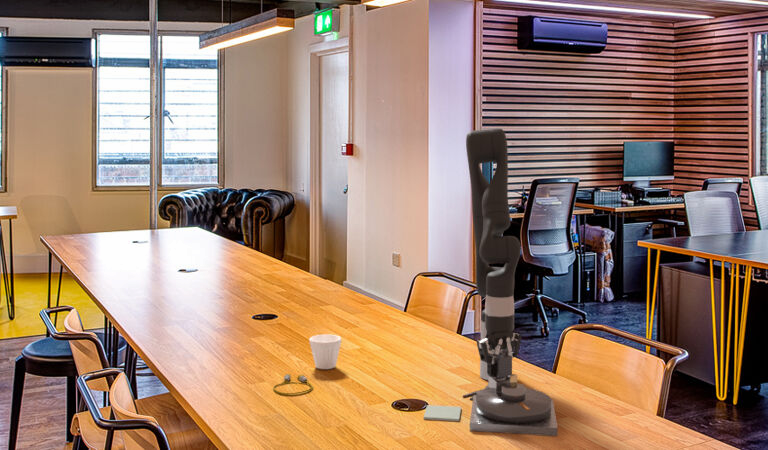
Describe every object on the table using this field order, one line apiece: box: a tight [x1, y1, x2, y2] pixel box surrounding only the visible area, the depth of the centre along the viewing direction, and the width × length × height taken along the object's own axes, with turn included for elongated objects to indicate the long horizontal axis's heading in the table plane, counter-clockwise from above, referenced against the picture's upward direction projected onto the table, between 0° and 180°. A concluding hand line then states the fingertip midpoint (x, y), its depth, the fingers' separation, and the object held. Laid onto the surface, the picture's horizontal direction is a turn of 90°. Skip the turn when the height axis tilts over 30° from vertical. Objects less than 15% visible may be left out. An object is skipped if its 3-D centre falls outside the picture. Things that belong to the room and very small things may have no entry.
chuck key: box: [491, 352, 513, 381], centre depth 206 cm, size 4×4×9 cm
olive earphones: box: [273, 373, 315, 397], centre depth 225 cm, size 12×16×2 cm
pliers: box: [462, 384, 490, 401], centre depth 221 cm, size 10×1×20 cm
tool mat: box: [423, 404, 462, 422], centre depth 203 cm, size 9×9×1 cm
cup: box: [308, 333, 342, 371], centre depth 243 cm, size 10×10×9 cm
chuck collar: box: [476, 373, 552, 423], centre depth 200 cm, size 20×19×9 cm
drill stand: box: [469, 395, 559, 437], centre depth 200 cm, size 21×21×2 cm
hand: (499, 374), depth 206 cm, fingers closed on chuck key, 4 cm apart
